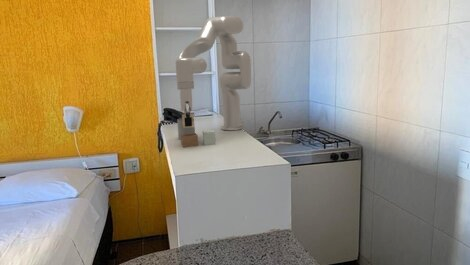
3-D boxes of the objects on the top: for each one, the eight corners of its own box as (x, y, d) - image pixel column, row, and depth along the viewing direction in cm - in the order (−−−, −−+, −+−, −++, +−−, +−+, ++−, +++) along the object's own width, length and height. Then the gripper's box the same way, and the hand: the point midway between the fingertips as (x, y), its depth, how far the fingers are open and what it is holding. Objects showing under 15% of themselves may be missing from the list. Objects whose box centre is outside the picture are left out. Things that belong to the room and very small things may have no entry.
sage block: (203, 143, 177) (203, 130, 176) (214, 142, 178) (213, 130, 176) (204, 145, 172) (203, 132, 171) (215, 144, 173) (214, 131, 172)
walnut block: (181, 144, 177) (180, 134, 176) (196, 143, 178) (195, 132, 177) (183, 147, 170) (182, 137, 169) (198, 146, 172) (197, 135, 171)
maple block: (182, 126, 174) (181, 113, 173) (193, 125, 175) (192, 112, 174) (183, 127, 169) (182, 114, 168) (194, 127, 170) (193, 114, 169)
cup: (192, 140, 185) (190, 120, 183) (176, 140, 186) (174, 120, 185) (197, 136, 193) (195, 117, 191) (182, 136, 195) (180, 117, 193)
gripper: (177, 85, 176) (179, 122, 180) (177, 87, 160) (180, 129, 163) (192, 84, 177) (195, 121, 181) (194, 86, 161) (197, 127, 164)
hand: (188, 124), depth 172 cm, fingers closed on maple block, 5 cm apart
